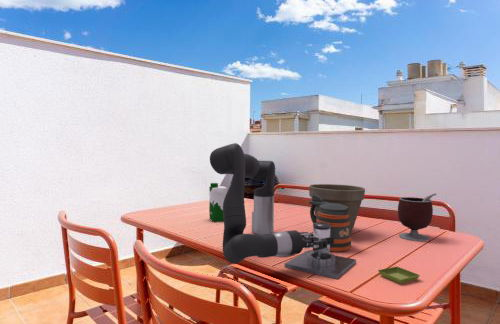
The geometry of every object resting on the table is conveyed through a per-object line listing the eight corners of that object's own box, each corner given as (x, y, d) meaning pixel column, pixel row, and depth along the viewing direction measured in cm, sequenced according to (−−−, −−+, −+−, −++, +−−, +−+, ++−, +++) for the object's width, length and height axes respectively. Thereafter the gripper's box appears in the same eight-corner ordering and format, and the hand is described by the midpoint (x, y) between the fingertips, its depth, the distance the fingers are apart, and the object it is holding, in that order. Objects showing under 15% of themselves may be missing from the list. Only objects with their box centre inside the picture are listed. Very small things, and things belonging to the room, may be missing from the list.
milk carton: (207, 219, 188) (207, 182, 187) (223, 218, 191) (223, 182, 190) (212, 222, 180) (212, 184, 179) (228, 221, 183) (228, 183, 182)
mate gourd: (402, 241, 147) (403, 194, 146) (393, 233, 161) (394, 190, 160) (441, 242, 145) (442, 195, 144) (428, 234, 159) (430, 191, 158)
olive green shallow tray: (396, 272, 112) (396, 266, 111) (420, 281, 104) (420, 275, 104) (377, 276, 108) (377, 270, 108) (400, 286, 100) (400, 279, 100)
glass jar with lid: (309, 257, 116) (310, 224, 115) (316, 252, 121) (317, 221, 120) (325, 260, 113) (326, 227, 112) (332, 256, 117) (333, 223, 117)
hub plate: (284, 266, 115) (284, 257, 114) (308, 253, 129) (308, 244, 129) (337, 279, 104) (337, 268, 104) (356, 262, 119) (356, 253, 119)
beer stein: (297, 244, 141) (298, 195, 140) (318, 237, 152) (319, 192, 151) (338, 255, 128) (339, 201, 127) (358, 247, 138) (359, 197, 137)
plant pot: (362, 228, 169) (363, 184, 168) (365, 242, 145) (366, 190, 144) (311, 225, 176) (311, 182, 175) (305, 237, 152) (306, 188, 151)
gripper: (297, 237, 104) (342, 232, 111) (274, 226, 117) (315, 222, 124) (296, 261, 104) (341, 255, 111) (273, 248, 117) (314, 243, 124)
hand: (327, 238), depth 117 cm, fingers closed on glass jar with lid, 5 cm apart
